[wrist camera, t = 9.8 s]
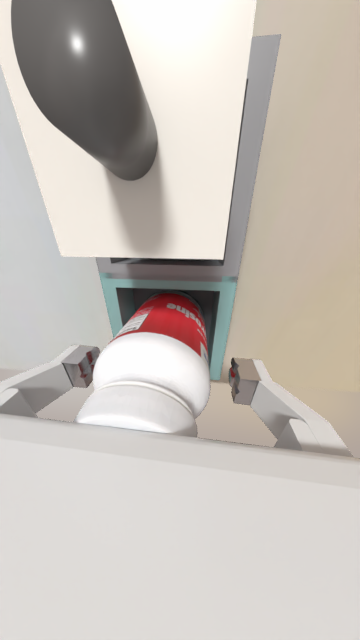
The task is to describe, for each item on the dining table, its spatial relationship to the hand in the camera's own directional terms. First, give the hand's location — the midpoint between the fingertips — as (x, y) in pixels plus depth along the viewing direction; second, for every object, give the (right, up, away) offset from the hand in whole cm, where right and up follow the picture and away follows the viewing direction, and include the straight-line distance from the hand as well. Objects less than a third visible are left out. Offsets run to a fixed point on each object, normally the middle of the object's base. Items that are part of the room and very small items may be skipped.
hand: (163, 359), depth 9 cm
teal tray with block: (+1, +8, +5) cm, 9 cm away
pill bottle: (0, +3, +6) cm, 7 cm away
